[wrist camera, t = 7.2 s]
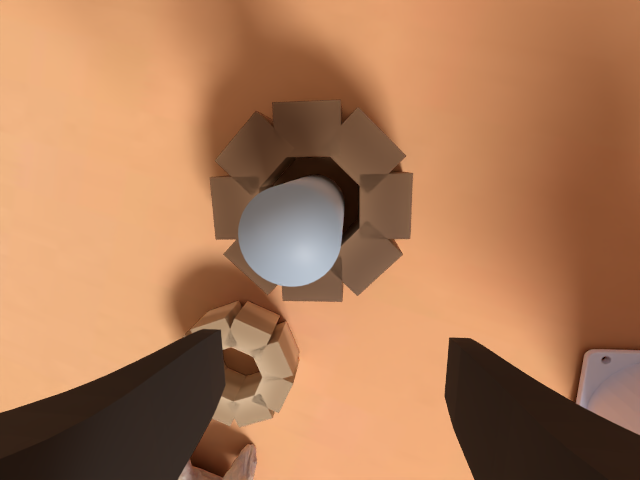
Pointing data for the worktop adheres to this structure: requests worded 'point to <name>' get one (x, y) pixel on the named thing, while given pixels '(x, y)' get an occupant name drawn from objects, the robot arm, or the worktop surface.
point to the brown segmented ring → (352, 156)
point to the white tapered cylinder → (293, 230)
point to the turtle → (236, 476)
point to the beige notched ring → (269, 354)
